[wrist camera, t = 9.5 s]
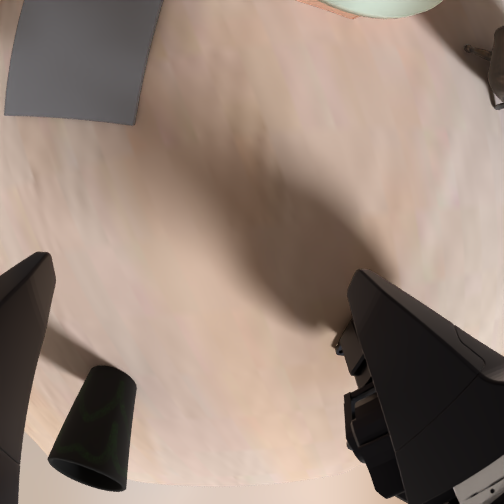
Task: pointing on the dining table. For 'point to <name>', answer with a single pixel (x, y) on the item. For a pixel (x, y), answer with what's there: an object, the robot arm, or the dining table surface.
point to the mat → (80, 59)
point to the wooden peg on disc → (382, 7)
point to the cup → (98, 431)
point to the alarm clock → (494, 64)
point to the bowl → (328, 8)
